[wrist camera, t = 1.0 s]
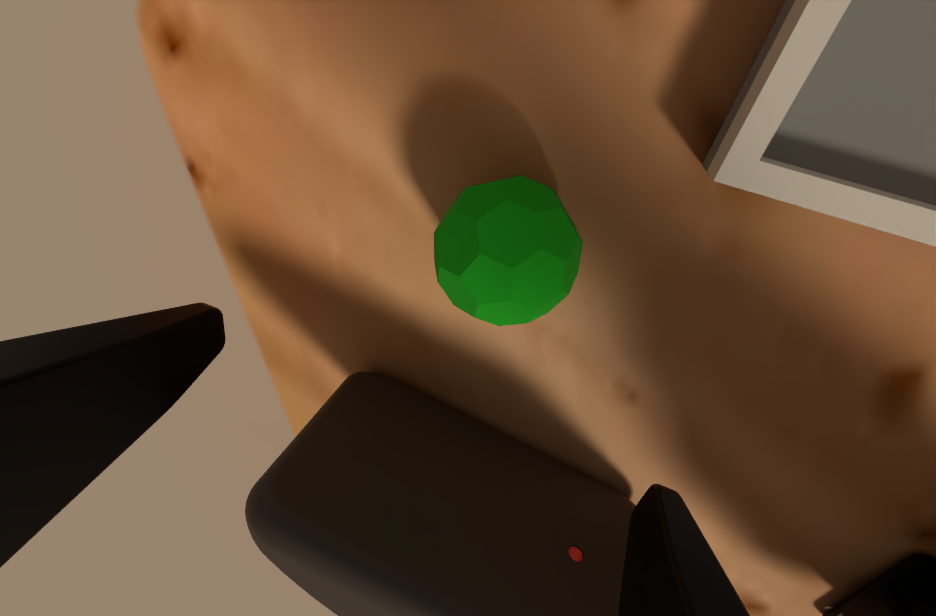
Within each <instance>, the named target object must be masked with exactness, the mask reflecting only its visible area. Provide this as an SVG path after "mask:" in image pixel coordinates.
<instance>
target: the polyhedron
mask: <svg viewBox="0 0 936 616" xmlns="http://www.w3.org/2000/svg"><path fill="white" fill-rule="evenodd" d="M582 243H583V242H582V240H581V238H580V236H579V234H578V232H577V230H576V228H575V226H574V224H573V222H572V220H571V218H570V216H569V215H568V213H567V211H566V209H565V208H564V206H563V204H562V202H561V201H560V199H559V197H558V196H557V195H556V193H555V192H554V191H553V189H552V188H550V187H548V186H545V185H543V184H541V183H538V182H536V181H534V180H531V179H529V178H527V177H525V176H522V175H521V176H516V177H511V178H506V179H502V180H497V181H493V182H489V183H484V184H480V185H476V186H472V187H468V188H465V189H463V191H462V192H461V193H460V195H459V196H458V197H457V199H456V200H455V201H454V202H453V204H452V205H451V206H450V208H449V209H448V210H447V212H446V213H445V215H444V217H443V218H442V220H441V222H440V223H439V225H438V227H437V228H436V230H435V231H434V260H435V267H436V274H437V281H438V283H439V284H440V286H441V287H442V289H443V290H444V291H445V293H446V294H447V296H448V297H449V299H450V300H451V301H452V303H453V304H454V305H455V306H456V307H458V308H460V309H461V310H463V311H465V312H466V313H468V314H470V315H471V316H473V317H475V318H478V319H481V320H483V321H486V322H489V323H492V324H495V325H497V326H503V325H513V324H523V323H528V322H530V321H532V320H534V319H536V318H538V317H540V316H542V315H544V314H546V313H548V312H549V311H550V310H551V309H552V308H554V307H555V306H556V305H557V304H558V303H559V302H560V301H561V300H563V299H564V298H565V297H566V296H567V295H568V294H569V292H570V290H571V287H572V285H573V282H574V280H575V277H576V275H577V272H578V269H579V262H580V256H581V250H582Z"/></svg>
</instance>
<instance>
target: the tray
mask: <svg viewBox="0 0 936 616" xmlns="http://www.w3.org/2000/svg"><path fill="white" fill-rule="evenodd" d="M702 165H703V167H704V168H705V170H706V171H707V173H708V174H709V175H710V177H711V178H712V180H713V181H715V182H719V183H722V184H726V185H729V186H732V187H736V188H739V189H743V190H746V191H749V192H753V193H756V194H759V195H763V196H766V197H770V198H773V199H776V200H780V201H783V202H786V203H790V204H793V205H797V206H800V207H803V208H807V209H810V210H814V211H817V212H820V213H824V214H827V215H830V216H834V217H837V218H841V219H844V220H847V221H851V222H854V223H858V224H861V225H864V226H868V227H871V228H874V229H878V230H881V231H885V232H888V233H891V234H895V235H898V236H902V237H905V238H908V239H912V240H915V241H918V242H922V243H925V244H929V245H932V246H935V247H936V0H785V2H784V4H783V6H782V8H781V10H780V12H779V14H778V16H777V18H776V20H775V22H774V24H773V26H772V28H771V30H770V32H769V34H768V36H767V38H766V40H765V42H764V44H763V46H762V48H761V50H760V51H759V53H758V55H757V57H756V59H755V61H754V63H753V65H752V67H751V69H750V71H749V73H748V75H747V77H746V79H745V81H744V83H743V85H742V87H741V89H740V91H739V93H738V95H737V97H736V99H735V101H734V103H733V105H732V107H731V109H730V111H729V113H728V115H727V117H726V119H725V120H724V122H723V124H722V126H721V128H720V130H719V132H718V134H717V136H716V138H715V140H714V142H713V144H712V146H711V148H710V150H709V152H708V154H707V156H706V158H705V160H704V162H703V164H702Z"/></svg>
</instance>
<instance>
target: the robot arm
mask: <svg viewBox="0 0 936 616" xmlns="http://www.w3.org/2000/svg"><path fill="white" fill-rule="evenodd" d="M224 344H225V331H224V322H223V314H222V312H221V311H220V310H219V309H218V308H215V307H213V306H210V305H208V304H205V303H195V304H190V305H185V306H180V307H175V308H169V309H164V310H159V311H154V312H149V313H144V314H138V315H133V316H128V317H123V318H118V319H113V320H108V321H102V322H97V323H92V324H87V325H82V326H77V327H72V328H67V329H62V330H56V331H51V332H46V333H41V334H36V335H31V336H26V337H21V338H15V339H10V340H5V341H0V567H1V566H3V565H4V564H5V563H6V562H7V561H8V560H9V559H10V558H11V557H12V556H13V555H14V554H15V553H16V552H17V551H19V550H20V549H21V548H22V547H23V546H24V545H25V544H26V543H27V542H28V541H29V540H30V539H31V538H32V537H33V536H35V535H36V534H37V533H38V532H39V531H40V530H41V529H42V528H43V527H44V526H45V525H46V524H47V523H48V522H49V521H51V520H52V519H53V518H54V517H55V516H56V515H57V514H58V513H59V512H60V511H61V510H62V509H63V508H64V507H66V506H67V504H69V503H70V502H71V501H72V500H73V499H74V498H75V497H76V496H77V495H78V494H79V493H80V492H81V491H83V490H84V489H85V488H86V487H87V486H88V485H89V484H90V483H91V482H92V481H93V480H94V479H95V478H96V477H98V476H99V475H100V474H101V473H102V472H103V471H104V470H105V469H106V468H107V467H108V466H109V465H110V464H111V463H112V462H113V461H114V460H116V459H117V458H118V457H119V456H120V455H121V454H122V453H123V452H124V451H125V450H126V449H127V448H128V447H130V446H131V445H132V444H133V443H134V442H135V441H136V440H137V439H138V438H139V437H140V436H141V435H142V434H143V433H144V432H146V430H148V429H149V428H150V427H151V426H152V425H153V424H154V423H155V422H156V421H157V420H158V419H159V418H160V417H161V416H163V415H164V414H165V413H166V412H167V411H168V410H169V409H170V408H171V407H172V406H173V405H174V403H175V402H176V401H177V400H178V399H179V398H180V397H181V396H182V395H183V394H184V393H185V391H186V390H187V389H188V388H189V387H190V386H191V385H192V383H193V382H194V381H195V380H196V379H197V378H198V377H199V376H200V374H201V373H202V372H203V371H204V370H205V369H206V368H207V366H208V365H209V364H210V363H211V362H212V361H213V359H215V357H216V356H217V355H218V354H219V353H220V352H221V350H222V349H223V347H224ZM619 616H750V615H749V613H748V612H747V610H746V608H745V606H744V605H743V603H742V601H741V599H740V598H739V596H738V594H737V593H736V591H735V589H734V587H733V586H732V584H731V582H730V580H729V579H728V577H727V575H726V574H725V572H724V570H723V568H722V567H721V565H720V563H719V561H718V560H717V558H716V556H715V555H714V553H713V551H712V549H711V548H710V546H709V544H708V542H707V541H706V539H705V537H704V536H703V534H702V532H701V530H700V529H699V527H698V525H697V524H696V522H695V520H694V518H693V517H692V515H691V513H690V511H689V510H688V508H687V506H686V505H685V503H684V501H683V499H682V498H681V496H680V495H679V494H678V493H677V492H676V491H674V490H672V489H669V488H667V487H664V486H662V485H659V484H653V485H651V486H650V487H649V489H648V490H647V491H646V493H645V494H644V496H643V497H642V498H641V500H640V501H639V502H638V504H637V505H636V506H635V508H634V510H633V512H632V515H631V518H630V524H629V532H628V539H627V547H626V554H625V562H624V569H623V577H622V584H621V592H620V601H619ZM822 616H936V557H934V556H931V555H927V554H915V555H912V556H909V557H908V558H906V559H905V560H903V561H902V562H900V563H899V564H897V565H896V566H894V567H893V568H891V569H890V570H888V571H887V572H885V573H884V574H882V575H881V576H879V577H878V578H877V579H875V580H874V581H872V582H871V583H869V584H868V585H866V586H865V587H863V588H862V589H860V590H859V591H857V592H856V593H854V594H853V595H851V596H850V597H848V598H847V599H845V600H844V601H842V602H841V603H839V604H838V605H836V606H835V607H833V608H832V609H830V610H829V611H827V612H826V613H824V614H823V615H822Z"/></svg>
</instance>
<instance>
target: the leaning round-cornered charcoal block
mask: <svg viewBox="0 0 936 616" xmlns="http://www.w3.org/2000/svg"><path fill="white" fill-rule="evenodd" d="M635 506H636V505H635V504H634V503H633V502H632V501H630V500H629V499H628V498H627V497H626V496H624V495H623V494H621V493H620V492H618V491H617V490H615V489H613V488H611V487H609V486H607V485H605V484H603V483H601V482H599V481H597V480H595V479H593V478H591V477H589V476H587V475H585V474H583V473H581V472H579V471H577V470H575V469H573V468H571V467H569V466H567V465H565V464H563V463H561V462H559V461H557V460H555V459H553V458H551V457H549V456H547V455H545V454H543V453H541V452H539V451H537V450H535V449H533V448H531V447H529V446H527V445H525V444H523V443H521V442H519V441H517V440H515V439H513V438H511V437H509V436H507V435H505V434H503V433H501V432H499V431H497V430H495V429H493V428H491V427H489V426H487V425H485V424H483V423H481V422H479V421H477V420H475V419H473V418H471V417H469V416H467V415H465V414H463V413H461V412H458V411H456V410H454V409H452V408H450V407H448V406H446V405H444V404H442V403H440V402H438V401H436V400H434V399H432V398H430V397H428V396H426V395H424V394H422V393H420V392H418V391H416V390H414V389H412V388H410V387H408V386H406V385H404V384H402V383H400V382H398V381H396V380H394V379H392V378H390V377H388V376H386V375H383V374H380V373H375V372H357V373H354V374H352V375H350V376H349V377H348V378H347V379H346V380H345V381H344V382H343V383H342V384H341V385H340V387H339V388H338V389H337V390H336V391H335V392H334V393H333V395H332V396H331V397H330V398H329V399H328V400H327V402H326V403H325V404H324V405H323V406H322V407H321V408H320V410H319V411H318V412H317V413H316V414H315V415H314V417H313V418H312V419H311V420H310V421H309V422H308V424H307V425H306V426H305V427H304V428H303V429H302V430H301V432H300V433H299V434H298V435H297V436H296V437H295V439H294V440H293V441H292V442H291V443H290V444H289V446H288V447H287V448H286V449H285V450H284V451H283V452H282V454H281V455H280V456H279V457H278V458H277V459H276V461H275V462H274V463H273V464H272V465H271V466H270V467H269V469H268V470H267V471H266V472H265V473H264V475H263V476H262V477H261V478H260V479H259V480H258V481H257V482H256V484H255V485H254V486H253V488H252V489H251V491H250V493H249V495H248V498H247V501H246V508H245V514H246V521H247V525H248V528H249V531H250V533H251V535H252V538H253V540H254V541H255V543H256V545H257V546H258V548H259V549H260V550H261V551H262V553H263V554H264V555H265V556H266V557H267V558H268V559H269V560H270V561H271V562H273V563H274V564H275V565H276V566H277V567H278V568H279V569H280V570H281V571H282V572H283V573H284V574H286V575H287V576H288V577H289V578H290V579H292V580H293V581H294V582H295V583H296V584H297V585H299V586H300V587H301V588H302V589H304V590H305V591H306V592H307V593H308V594H310V595H311V596H312V597H313V598H315V599H316V600H318V601H319V602H320V603H322V604H323V605H324V606H325V607H327V608H328V609H330V610H331V611H332V612H334V613H335V614H337V615H338V616H619V601H620V592H621V584H622V577H623V569H624V562H625V554H626V547H627V539H628V532H629V524H630V518H631V515H632V512H633V510H634V508H635Z"/></svg>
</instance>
